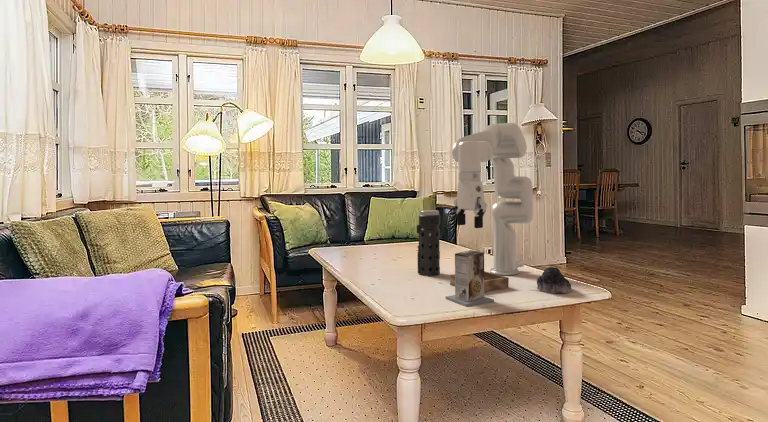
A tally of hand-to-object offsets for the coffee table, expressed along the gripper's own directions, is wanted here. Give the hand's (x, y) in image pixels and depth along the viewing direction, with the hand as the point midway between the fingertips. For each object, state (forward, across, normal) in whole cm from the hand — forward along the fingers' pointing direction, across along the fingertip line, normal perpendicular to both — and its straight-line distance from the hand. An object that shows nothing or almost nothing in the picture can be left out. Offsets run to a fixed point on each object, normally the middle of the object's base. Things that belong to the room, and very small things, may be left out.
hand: (469, 226), depth 176 cm
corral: (+26, +14, -15) cm, 34 cm away
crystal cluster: (+27, -5, -36) cm, 45 cm away
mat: (+26, 0, +1) cm, 26 cm away
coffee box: (+25, 0, 0) cm, 25 cm away
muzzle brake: (+27, +44, -11) cm, 53 cm away
